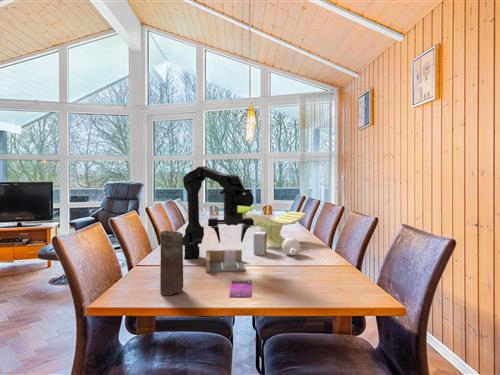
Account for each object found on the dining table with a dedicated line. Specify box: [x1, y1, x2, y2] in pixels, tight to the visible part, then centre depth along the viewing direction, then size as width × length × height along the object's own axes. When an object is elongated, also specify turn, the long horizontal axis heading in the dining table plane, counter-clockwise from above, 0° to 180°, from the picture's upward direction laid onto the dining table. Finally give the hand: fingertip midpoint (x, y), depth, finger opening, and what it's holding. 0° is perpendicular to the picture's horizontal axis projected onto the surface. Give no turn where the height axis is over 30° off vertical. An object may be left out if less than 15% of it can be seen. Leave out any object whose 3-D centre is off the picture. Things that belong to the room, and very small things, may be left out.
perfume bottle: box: [281, 236, 301, 257], centre depth 145 cm, size 9×9×12 cm
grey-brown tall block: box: [159, 230, 184, 296], centre depth 97 cm, size 8×7×20 cm
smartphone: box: [228, 279, 253, 299], centre depth 100 cm, size 7×15×1 cm, turn 0°
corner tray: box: [205, 249, 247, 274], centre depth 126 cm, size 16×16×5 cm
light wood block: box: [224, 249, 237, 268], centre depth 126 cm, size 8×4×7 cm, turn 8°
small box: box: [253, 231, 267, 256], centre depth 149 cm, size 8×6×10 cm
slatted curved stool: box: [248, 210, 307, 249], centre depth 171 cm, size 30×16×18 cm, turn 126°
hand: (230, 242), depth 123 cm, fingers open, 9 cm apart
